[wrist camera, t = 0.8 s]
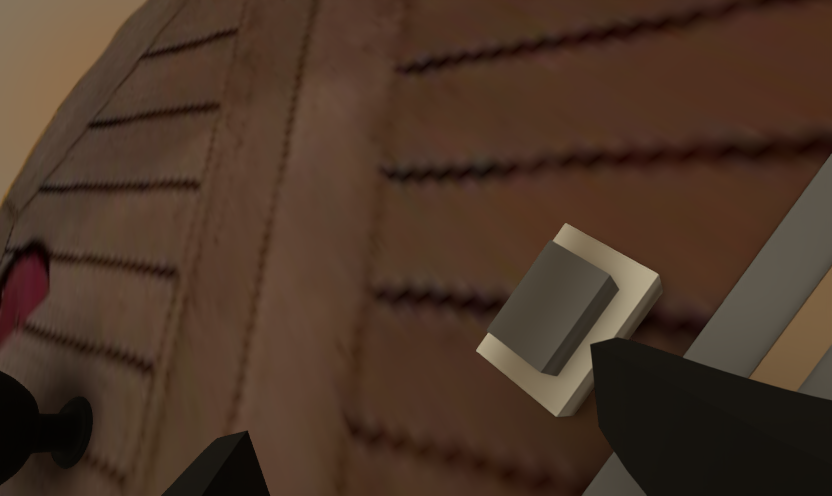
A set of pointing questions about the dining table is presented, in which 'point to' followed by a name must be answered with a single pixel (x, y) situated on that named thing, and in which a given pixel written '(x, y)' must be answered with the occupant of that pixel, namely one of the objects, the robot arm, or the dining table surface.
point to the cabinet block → (568, 318)
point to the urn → (39, 429)
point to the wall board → (769, 317)
